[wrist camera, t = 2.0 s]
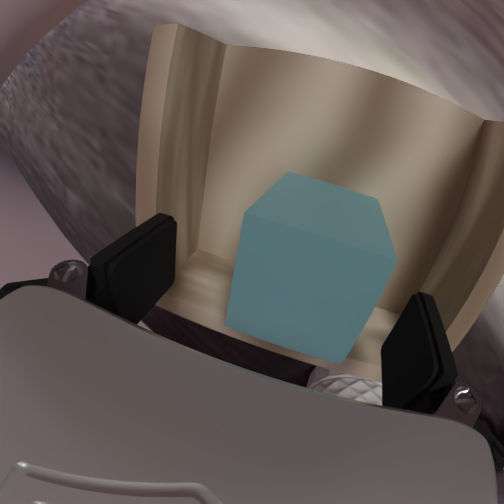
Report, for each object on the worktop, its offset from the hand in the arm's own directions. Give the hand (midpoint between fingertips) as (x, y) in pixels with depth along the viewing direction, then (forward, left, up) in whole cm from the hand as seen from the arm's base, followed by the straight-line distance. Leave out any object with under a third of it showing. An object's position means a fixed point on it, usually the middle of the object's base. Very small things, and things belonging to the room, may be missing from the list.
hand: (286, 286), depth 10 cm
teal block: (-1, 0, -6) cm, 6 cm away
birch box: (-1, -2, -7) cm, 7 cm away
